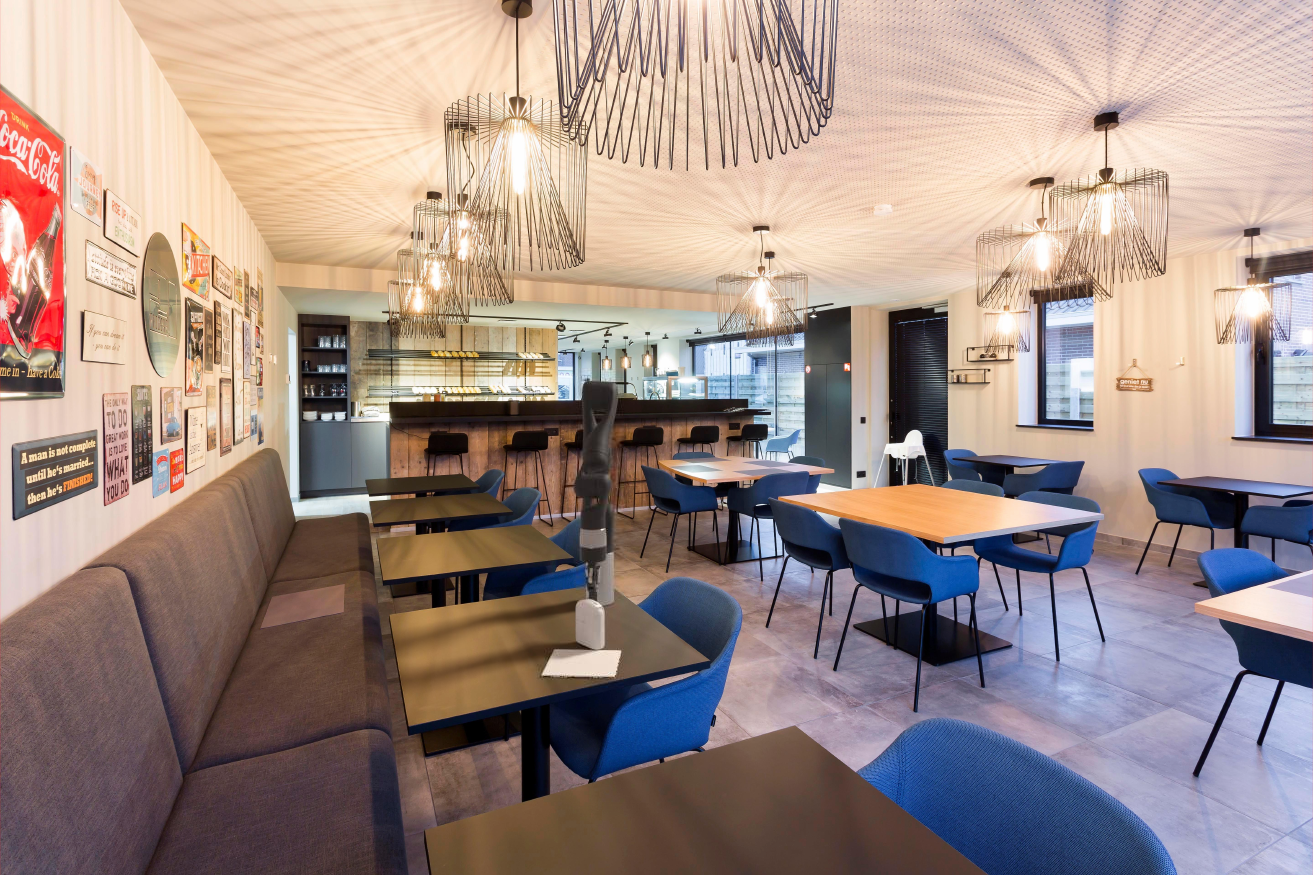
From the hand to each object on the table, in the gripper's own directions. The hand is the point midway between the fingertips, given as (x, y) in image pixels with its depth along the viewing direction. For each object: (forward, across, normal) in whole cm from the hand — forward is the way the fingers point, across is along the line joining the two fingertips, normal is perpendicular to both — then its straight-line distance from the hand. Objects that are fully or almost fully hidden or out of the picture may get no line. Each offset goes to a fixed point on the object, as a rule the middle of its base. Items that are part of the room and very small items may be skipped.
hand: (593, 603), depth 180 cm
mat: (+10, +19, 0) cm, 21 cm away
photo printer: (+10, +7, 0) cm, 12 cm away
